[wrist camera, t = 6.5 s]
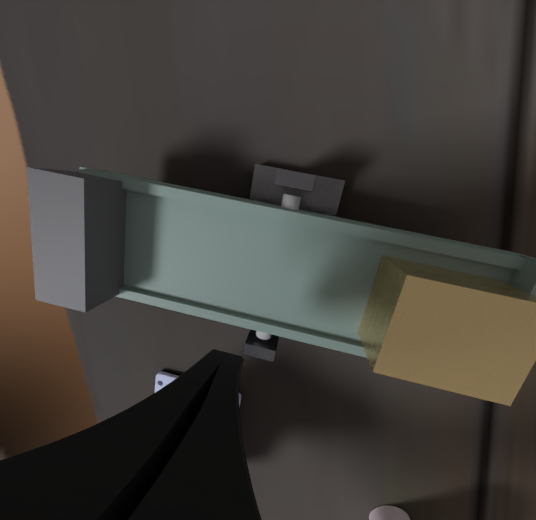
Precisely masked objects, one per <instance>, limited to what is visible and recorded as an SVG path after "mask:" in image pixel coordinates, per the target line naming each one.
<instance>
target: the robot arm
mask: <svg viewBox="0 0 536 520" xmlns="http://www.w3.org/2000/svg"><path fill="white" fill-rule="evenodd" d="M243 360H244V359H243V358H242V356H238V355H234V354H230V353H226V352H223V351H219V350H215V349H213V350H212V351H210V352H209V353H208V354H207V355H205V356H204V357H203V358H202V359H201V360H199V361H198V362H197V363H196V364H195V365H193V366H192V367H191V368H189V369H188V370H187V371H185V372H184V373H183V374H182V375H180V376H178V375H174V374H170V373H167V372H163V371H161V372H159V373H158V374H157V375H156V381H155V393H154V394H152V395H151V396H149V397H148V398H146V399H144V400H142V401H141V402H139V403H137V404H136V405H134V406H132V407H130V408H128V409H126V410H125V411H123V412H121V413H119V414H117V415H115V416H113V417H111V418H109V419H107V420H105V421H103V422H101V423H98V424H96V425H94V426H92V427H90V428H87V429H85V430H83V431H80V432H78V433H76V434H74V435H71V436H68V437H66V438H64V439H61V440H58V441H55V442H53V443H50V444H48V445H45V446H42V447H39V448H36V449H33V450H30V451H27V452H24V453H22V454H19V455H16V456H13V457H10V458H7V459H4V460H0V520H261V517H260V514H259V510H258V507H257V503H256V499H255V495H254V492H253V488H252V484H251V479H250V475H249V470H248V466H247V461H246V456H245V451H244V445H243V438H242V431H241V422H240V410H239V407H240V402H241V394H240V393H239V381H240V376H241V370H242V365H243ZM161 381H162V382H163V383H162V382H161Z"/></svg>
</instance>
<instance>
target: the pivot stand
mask: <svg viewBox="0 0 536 520" xmlns="http://www.w3.org/2000/svg"><path fill="white" fill-rule="evenodd" d="M344 184H345V180H339V179H334V178H329V177H323V176H318V175H313V174H307V173H302V172H296V171H291V170H286V169H280V168H275V167H270V166H264V165H259V164H255V167H254V174H253V180H252V186H251V192H250V198H249V199H250V200H255V201H260V202H265V203H270V204H275V205H280V206H281V204H282V199H283V194H288V195H293V196H298V197H301V200H300V205H299V209H300V210H305V211H310V212H315V213H320V214H325V215H330V216H335V217H336V215H337V211H338V207H339V203H340V199H341V195H342V191H343V188H344ZM278 338H279V336H276V335H272V334H271V338H270V339H267V340H263V339H260V338H258V337H257V336H256V331H255V330H250V332H249V335H248V337H247V340H246V342H245V346H244V351H243V354H244V355H248V356H252V357H256V358H260V359H264V360H267V361H271V362H274V357H275V353H276V348H277V343H278Z"/></svg>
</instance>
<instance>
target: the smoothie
mask: <svg viewBox="0 0 536 520" xmlns="http://www.w3.org/2000/svg"><path fill="white" fill-rule="evenodd" d="M369 520H410V518H409V516H408V514H407V513H406V512H405V511H403V510H402V509H400V508H398V507H395V506H388V505H386V506H380V507H377V508H375V509H373V510H372V511H371V513H370V515H369Z"/></svg>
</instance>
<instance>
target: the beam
mask: <svg viewBox="0 0 536 520" xmlns="http://www.w3.org/2000/svg"><path fill="white" fill-rule="evenodd" d="M26 168H27V182H28V196H29V211H30V225H31V240H32V254H33V268H34V283H35V297H36V300H38V301H43V302H47V303H51V304H54V305H58V306H62V307H66V308H70V309H74V310H78V311H82V312H87V311H89V310H91V309H93V308H94V307H96V306H98V305H100V304H102V303H104V302H106V301H107V300H109V299H111V298H113V297H115V296H116V297H120V298H125V299H129V300H133V301H137V302H141V303H145V304H149V305H153V306H157V307H161V308H165V309H170V310H174V311H178V312H182V313H186V314H190V315H194V316H198V317H202V318H206V319H210V320H214V321H219V322H223V323H227V324H231V325H235V326H239V327H243V328H247V329H251V330H255V331H256V336H257V337H258V338H260V339H263V340H267V339H270V338H271V334H272V335H276V336H280V337H284V338H288V339H292V340H296V341H300V342H304V343H308V344H313V345H317V346H321V347H325V348H329V349H333V350H337V351H341V352H345V353H349V354H353V355H358V356H362V357H366V358H367V356H366V353H365V351H364V348H363V345H362V343H361V340H360V337H359V335H358V330H359V327H360V323H361V320H362V317H363V314H364V311H365V308H366V305H367V302H368V298H369V295H370V292H371V289H372V286H373V283H374V280H375V277H376V273H377V270H378V267H379V264H380V261H381V258H382V255H383V256H388V257H393V258H398V259H402V260H407V261H412V262H417V263H422V264H426V265H431V266H436V267H441V268H445V269H450V270H455V271H460V272H465V273H469V274H474V275H479V276H484V277H489V278H493V279H498V280H501V281H503V282H505V283H508V284H510V285H512V286H514V287H517V288H519V289H521V290H523V291H526V292H528V293H530V294H533V295H535V296H536V258H533V257H530V256H526V255H523V254H519V253H515V252H511V251H506V250H501V249H496V248H491V247H486V246H481V245H476V244H471V243H466V242H461V241H456V240H450V239H445V238H440V237H435V236H430V235H425V234H420V233H415V232H410V231H405V230H400V229H395V228H390V227H385V226H380V225H375V224H370V223H365V222H360V221H355V220H350V219H345V218H340V217H335V216H330V215H325V214H320V213H315V212H310V211H305V210H300V209H299V205H300V200H301V197H298V196H293V195H288V194H283V199H282V204H281V206H280V205H275V204H270V203H265V202H260V201H255V200H250V199H245V198H240V197H235V196H230V195H225V194H220V193H215V192H210V191H205V190H200V189H195V188H190V187H185V186H180V185H175V184H170V183H165V182H160V181H155V180H150V179H145V178H140V177H135V176H130V175H125V174H120V173H115V172H110V171H105V170H100V169H94V168H86V167H80V169H79V172H73V171H63V170H53V169H42V168H32V167H26Z"/></svg>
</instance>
